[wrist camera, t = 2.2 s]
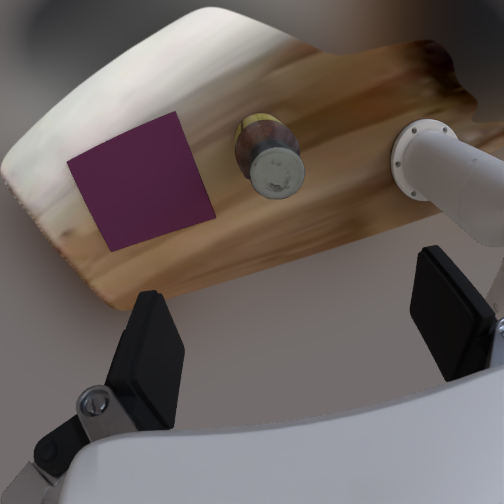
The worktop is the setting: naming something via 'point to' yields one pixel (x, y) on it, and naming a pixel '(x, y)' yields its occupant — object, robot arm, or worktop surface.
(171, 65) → the worktop surface
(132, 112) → the worktop surface
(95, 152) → the cloth
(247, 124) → the sauce bottle
